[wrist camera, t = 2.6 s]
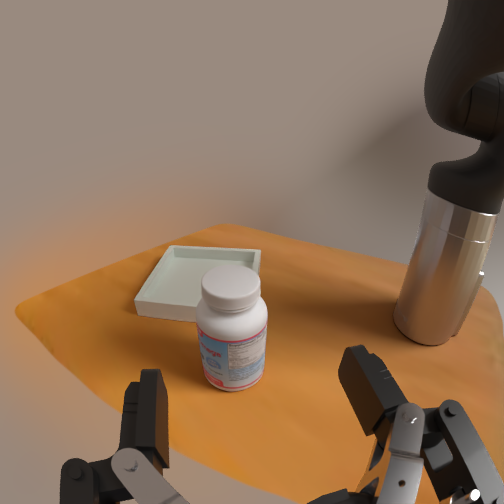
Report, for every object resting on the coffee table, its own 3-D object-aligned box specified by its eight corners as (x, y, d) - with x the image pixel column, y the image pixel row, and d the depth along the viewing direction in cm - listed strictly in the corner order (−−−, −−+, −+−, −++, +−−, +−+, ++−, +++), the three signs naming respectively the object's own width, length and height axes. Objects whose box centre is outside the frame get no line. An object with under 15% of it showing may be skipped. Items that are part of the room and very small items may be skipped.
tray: (260, 263, 47) (260, 249, 45) (252, 327, 34) (252, 311, 33) (172, 258, 48) (170, 245, 46) (138, 315, 35) (133, 299, 34)
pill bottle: (196, 357, 29) (182, 268, 24) (249, 342, 32) (250, 254, 26) (215, 401, 25) (203, 312, 19) (274, 382, 27) (283, 291, 21)
